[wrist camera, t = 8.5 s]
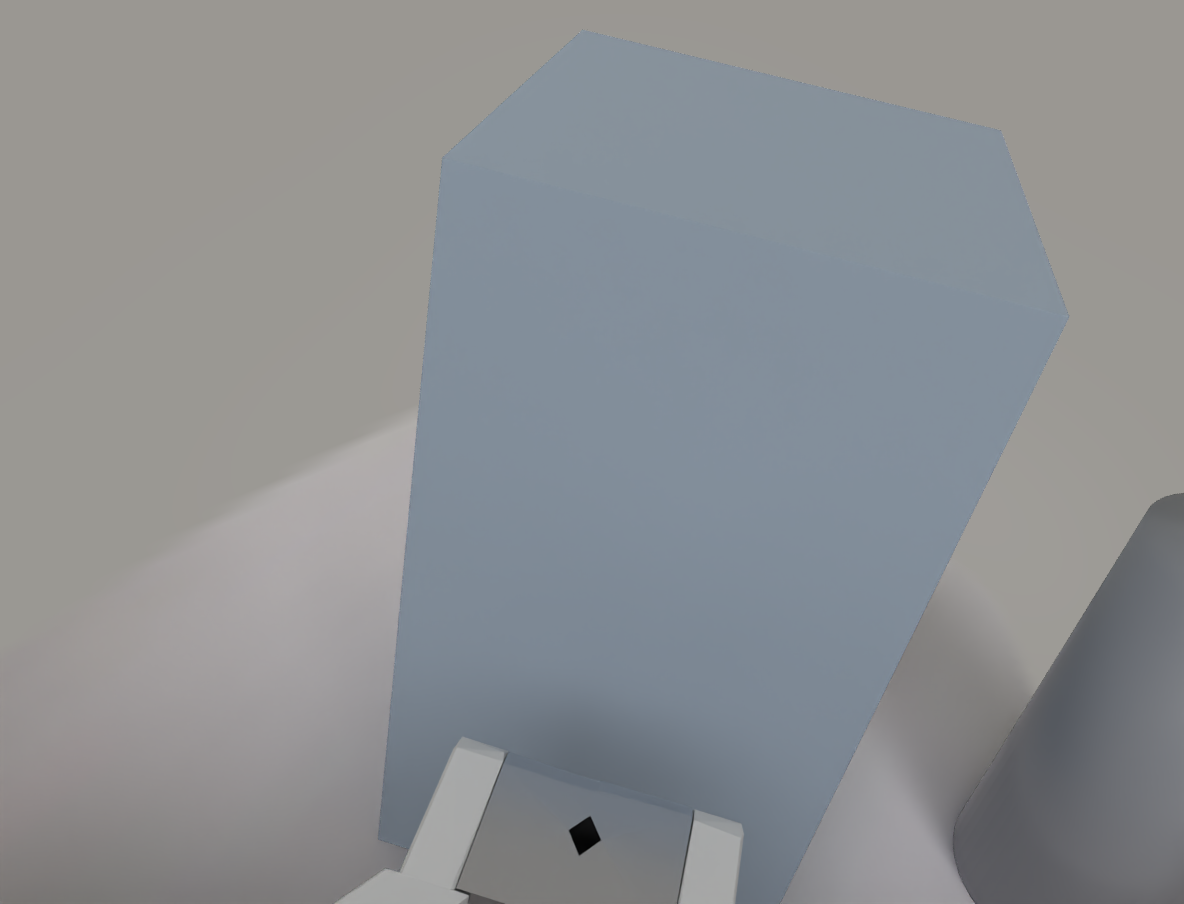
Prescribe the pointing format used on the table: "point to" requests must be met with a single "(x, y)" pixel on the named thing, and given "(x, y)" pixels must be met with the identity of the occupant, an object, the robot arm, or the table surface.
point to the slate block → (700, 429)
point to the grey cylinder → (1095, 750)
